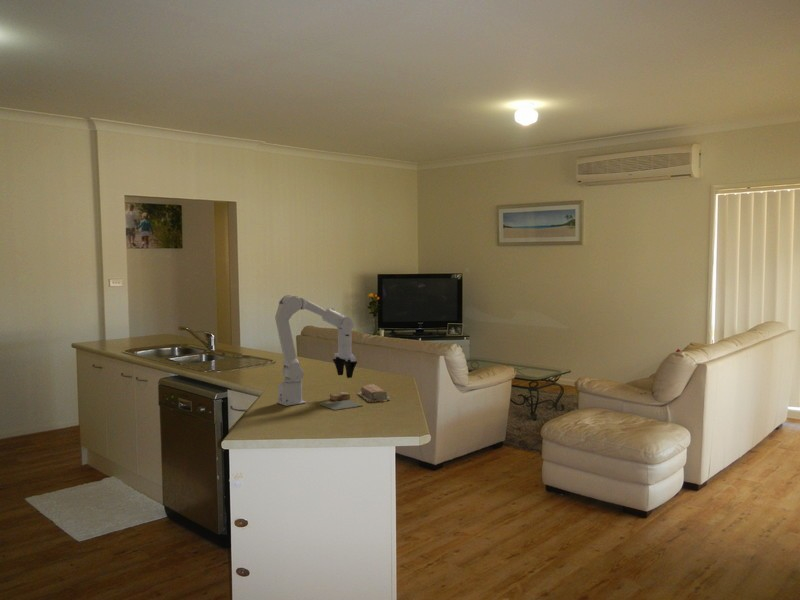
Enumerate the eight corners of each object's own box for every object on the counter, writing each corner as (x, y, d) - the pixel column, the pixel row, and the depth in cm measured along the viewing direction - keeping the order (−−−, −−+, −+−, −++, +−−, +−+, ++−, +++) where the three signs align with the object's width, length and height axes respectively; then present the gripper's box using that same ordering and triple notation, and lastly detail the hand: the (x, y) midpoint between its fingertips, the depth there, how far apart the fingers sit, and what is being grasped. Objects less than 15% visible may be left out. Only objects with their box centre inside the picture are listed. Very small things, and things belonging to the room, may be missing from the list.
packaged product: (391, 390, 271) (368, 392, 267) (391, 401, 271) (368, 403, 268) (378, 382, 288) (356, 384, 284) (378, 393, 288) (356, 395, 285)
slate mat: (334, 410, 253) (334, 409, 253) (319, 404, 263) (319, 404, 263) (362, 406, 261) (362, 405, 261) (347, 400, 271) (347, 399, 271)
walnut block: (335, 402, 270) (335, 395, 270) (330, 400, 274) (329, 393, 274) (349, 399, 274) (349, 393, 274) (344, 398, 278) (344, 391, 278)
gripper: (361, 345, 273) (361, 377, 274) (344, 342, 285) (344, 373, 286) (347, 347, 269) (347, 379, 270) (330, 343, 281) (330, 374, 282)
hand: (344, 376), depth 278 cm, fingers open, 7 cm apart
